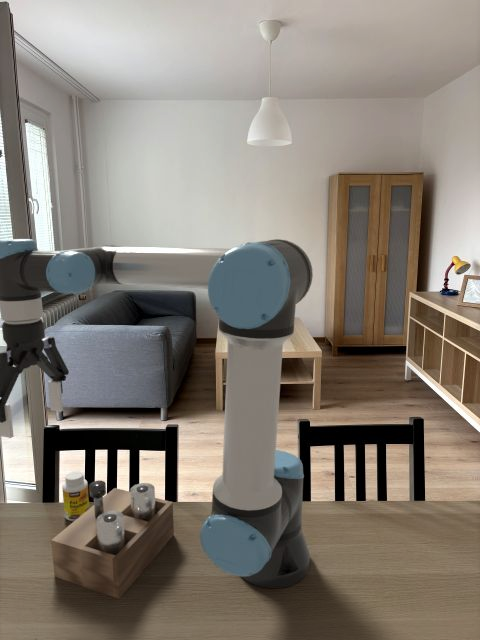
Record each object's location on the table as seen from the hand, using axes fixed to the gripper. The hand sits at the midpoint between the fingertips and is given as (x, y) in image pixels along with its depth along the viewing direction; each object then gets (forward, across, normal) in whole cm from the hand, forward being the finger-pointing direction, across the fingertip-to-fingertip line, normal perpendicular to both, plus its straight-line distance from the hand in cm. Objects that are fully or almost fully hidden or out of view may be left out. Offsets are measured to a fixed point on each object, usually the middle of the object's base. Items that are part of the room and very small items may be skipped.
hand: (33, 422), depth 102 cm
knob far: (+24, -8, +20) cm, 32 cm away
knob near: (+24, +3, +20) cm, 31 cm away
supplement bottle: (+28, -11, 0) cm, 30 cm away
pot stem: (+20, -2, +13) cm, 23 cm away
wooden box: (+28, -2, +17) cm, 32 cm away
